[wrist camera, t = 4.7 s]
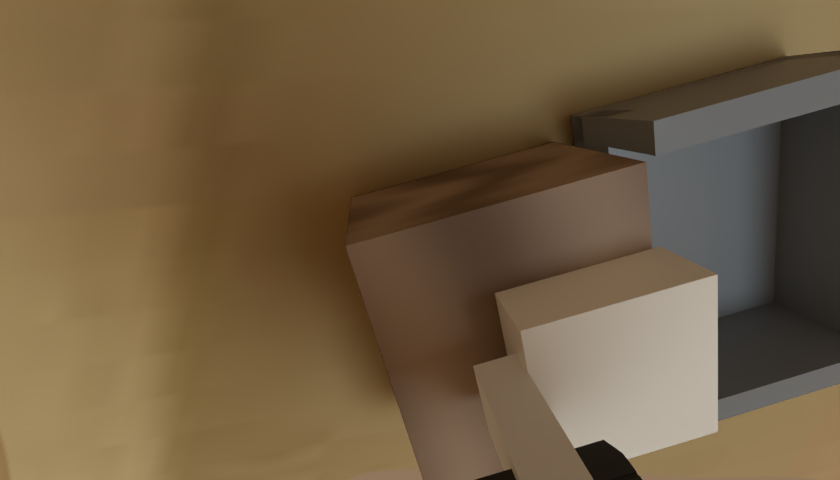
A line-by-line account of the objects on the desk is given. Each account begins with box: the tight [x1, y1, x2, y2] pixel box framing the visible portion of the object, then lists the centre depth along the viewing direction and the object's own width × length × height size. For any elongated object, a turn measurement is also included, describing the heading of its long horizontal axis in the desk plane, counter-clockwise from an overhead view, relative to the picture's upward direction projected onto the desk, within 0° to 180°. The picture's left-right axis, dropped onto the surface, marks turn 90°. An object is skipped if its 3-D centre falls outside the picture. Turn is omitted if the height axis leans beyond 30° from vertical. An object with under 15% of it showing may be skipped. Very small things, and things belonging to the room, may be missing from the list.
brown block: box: [345, 142, 652, 480], centre depth 19 cm, size 10×12×7 cm
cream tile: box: [495, 246, 718, 459], centre depth 14 cm, size 6×6×2 cm
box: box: [571, 51, 840, 421], centre depth 20 cm, size 11×14×6 cm
